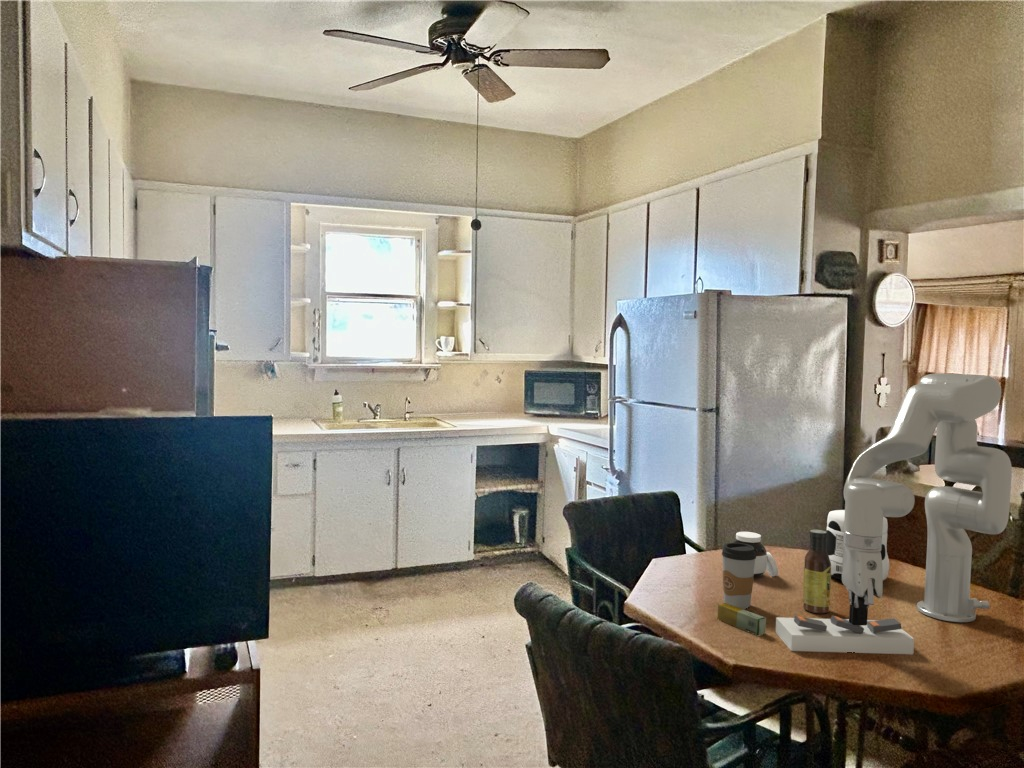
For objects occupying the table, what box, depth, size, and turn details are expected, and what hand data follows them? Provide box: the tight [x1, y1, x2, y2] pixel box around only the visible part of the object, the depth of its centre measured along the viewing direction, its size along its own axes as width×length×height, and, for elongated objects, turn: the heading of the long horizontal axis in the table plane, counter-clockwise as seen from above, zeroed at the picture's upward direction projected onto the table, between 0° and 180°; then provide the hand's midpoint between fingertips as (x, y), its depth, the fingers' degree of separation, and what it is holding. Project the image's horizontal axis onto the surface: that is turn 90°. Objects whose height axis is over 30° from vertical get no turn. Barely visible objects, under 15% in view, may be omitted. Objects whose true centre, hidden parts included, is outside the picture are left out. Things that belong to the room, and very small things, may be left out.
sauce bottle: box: [802, 529, 832, 614], centre depth 180 cm, size 7×6×20 cm
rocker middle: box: [830, 615, 864, 634], centre depth 158 cm, size 6×3×1 cm, turn 89°
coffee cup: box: [721, 542, 756, 610], centre depth 183 cm, size 8×8×15 cm
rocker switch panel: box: [775, 617, 915, 655], centre depth 161 cm, size 26×10×4 cm, turn 89°
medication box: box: [716, 602, 767, 636], centre depth 169 cm, size 12×3×4 cm, turn 35°
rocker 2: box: [867, 617, 903, 633], centre depth 158 cm, size 6×3×1 cm, turn 88°
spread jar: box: [732, 531, 779, 579], centre depth 207 cm, size 12×11×12 cm
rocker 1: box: [793, 615, 827, 631], centre depth 159 cm, size 6×3×1 cm, turn 89°
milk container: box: [826, 509, 890, 582], centre depth 206 cm, size 17×17×18 cm
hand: (857, 623), depth 158 cm, fingers closed
